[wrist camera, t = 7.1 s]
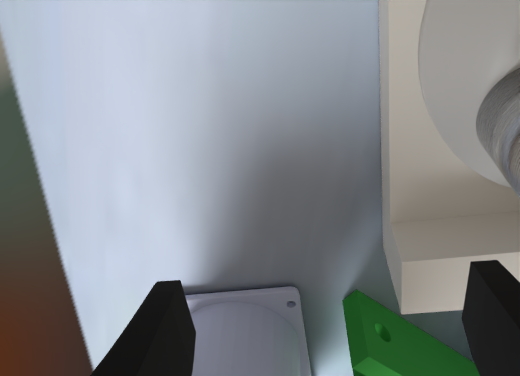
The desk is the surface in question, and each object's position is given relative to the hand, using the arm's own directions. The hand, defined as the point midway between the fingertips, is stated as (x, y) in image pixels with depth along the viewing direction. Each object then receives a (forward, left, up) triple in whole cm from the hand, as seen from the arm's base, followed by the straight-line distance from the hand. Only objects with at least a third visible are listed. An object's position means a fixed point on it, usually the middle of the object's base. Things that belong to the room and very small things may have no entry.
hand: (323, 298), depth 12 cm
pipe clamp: (-16, -4, -11) cm, 19 cm away
